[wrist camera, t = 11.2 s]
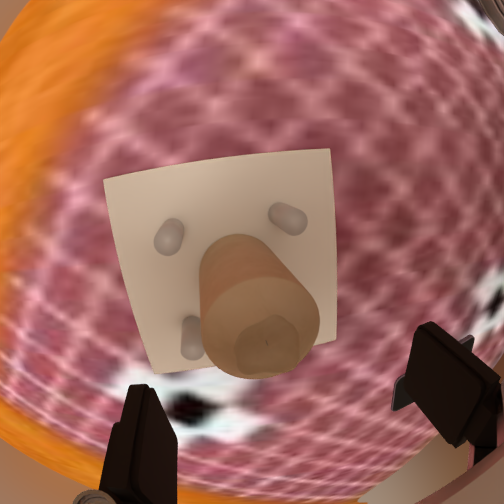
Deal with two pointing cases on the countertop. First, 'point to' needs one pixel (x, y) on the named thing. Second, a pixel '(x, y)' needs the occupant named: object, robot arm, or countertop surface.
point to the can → (494, 12)
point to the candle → (253, 310)
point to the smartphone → (399, 392)
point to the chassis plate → (214, 228)
